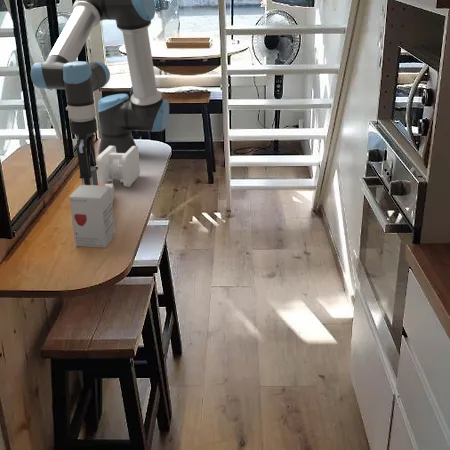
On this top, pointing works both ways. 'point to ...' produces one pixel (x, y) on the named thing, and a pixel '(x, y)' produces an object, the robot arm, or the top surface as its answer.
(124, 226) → the top surface
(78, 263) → the top surface
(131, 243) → the top surface
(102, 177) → the cable organizer
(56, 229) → the top surface
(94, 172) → the plug
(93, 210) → the supplement box
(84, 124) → the robot arm
